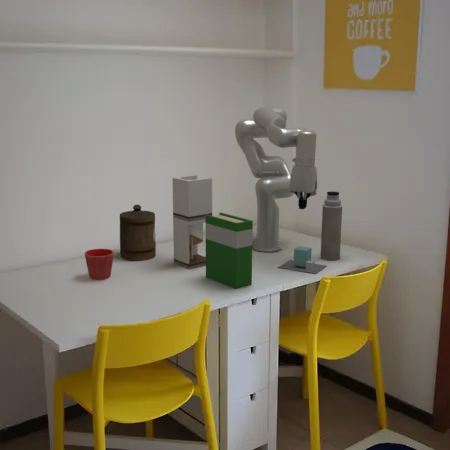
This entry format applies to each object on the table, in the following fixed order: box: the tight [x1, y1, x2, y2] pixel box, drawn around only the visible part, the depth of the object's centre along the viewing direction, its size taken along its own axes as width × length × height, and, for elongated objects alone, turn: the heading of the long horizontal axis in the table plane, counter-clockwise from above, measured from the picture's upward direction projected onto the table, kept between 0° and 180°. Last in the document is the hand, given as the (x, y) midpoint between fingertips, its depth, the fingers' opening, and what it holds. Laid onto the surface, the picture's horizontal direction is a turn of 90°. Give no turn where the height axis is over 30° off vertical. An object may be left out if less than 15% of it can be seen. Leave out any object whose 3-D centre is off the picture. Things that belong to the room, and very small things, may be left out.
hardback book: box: [205, 212, 254, 290], centre depth 230 cm, size 18×7×24 cm, turn 40°
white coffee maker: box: [172, 174, 213, 270], centre depth 250 cm, size 11×11×35 cm
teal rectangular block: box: [293, 245, 313, 267], centre depth 249 cm, size 5×5×7 cm
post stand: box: [277, 259, 327, 275], centre depth 249 cm, size 16×12×7 cm
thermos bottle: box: [320, 191, 343, 262], centre depth 260 cm, size 8×8×28 cm
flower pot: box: [84, 248, 115, 281], centre depth 235 cm, size 11×11×10 cm
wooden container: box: [119, 204, 157, 262], centre depth 262 cm, size 15×15×22 cm
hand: (302, 208), depth 249 cm, fingers closed
